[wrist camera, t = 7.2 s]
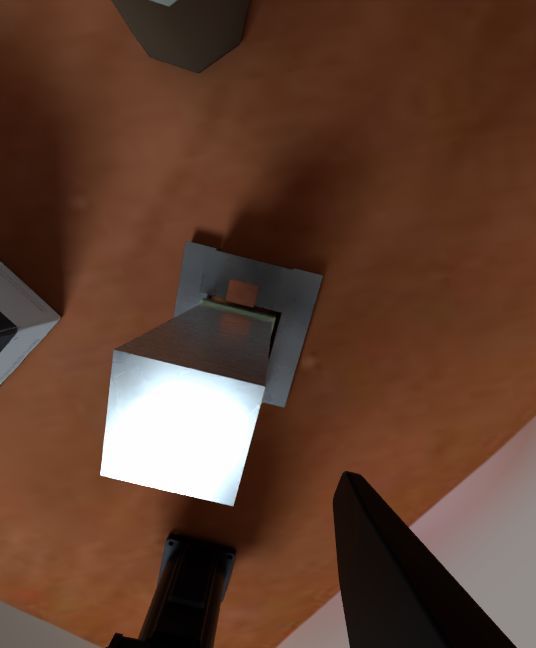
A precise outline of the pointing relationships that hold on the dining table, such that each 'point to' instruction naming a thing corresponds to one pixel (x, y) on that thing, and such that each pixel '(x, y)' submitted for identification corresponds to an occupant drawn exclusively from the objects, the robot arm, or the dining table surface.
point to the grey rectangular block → (188, 401)
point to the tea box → (20, 321)
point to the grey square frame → (255, 302)
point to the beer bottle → (185, 29)
